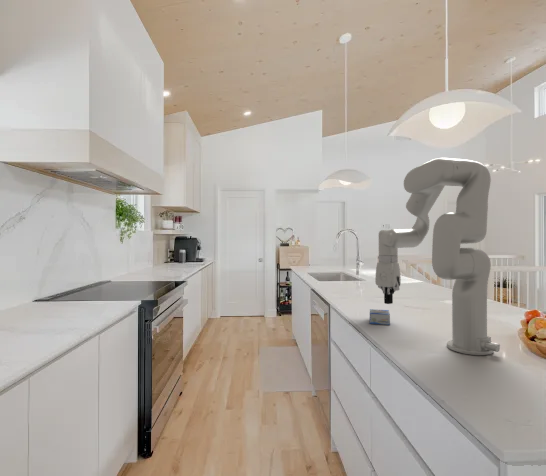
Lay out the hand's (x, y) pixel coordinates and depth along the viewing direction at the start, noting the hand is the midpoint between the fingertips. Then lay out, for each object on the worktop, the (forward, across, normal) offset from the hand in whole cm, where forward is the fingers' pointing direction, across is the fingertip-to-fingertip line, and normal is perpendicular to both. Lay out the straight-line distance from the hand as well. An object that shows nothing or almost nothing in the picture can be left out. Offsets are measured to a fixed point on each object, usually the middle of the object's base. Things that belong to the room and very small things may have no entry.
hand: (388, 303), depth 147 cm
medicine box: (+5, -4, -1) cm, 7 cm away
